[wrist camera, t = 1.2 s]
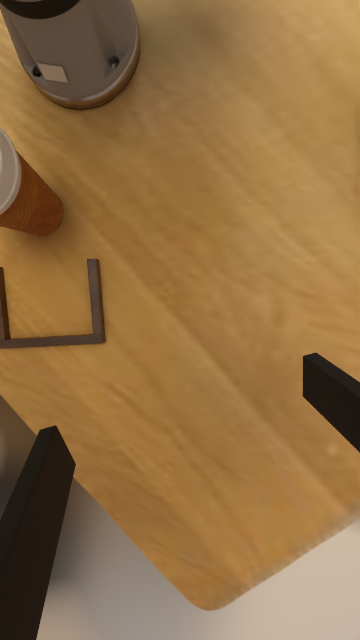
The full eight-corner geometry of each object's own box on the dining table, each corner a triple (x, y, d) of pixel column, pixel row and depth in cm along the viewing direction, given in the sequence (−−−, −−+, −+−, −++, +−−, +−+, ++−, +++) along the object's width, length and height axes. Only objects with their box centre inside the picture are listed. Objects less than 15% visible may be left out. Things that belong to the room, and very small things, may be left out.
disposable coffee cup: (57, 259, 34) (-19, 235, 22) (-4, 228, 34) (-111, 187, 22) (86, 194, 33) (25, 132, 21) (24, 163, 33) (-72, 84, 21)
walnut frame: (-6, 267, 34) (-12, 266, 33) (98, 260, 34) (95, 258, 33) (2, 347, 35) (-3, 348, 34) (105, 342, 34) (102, 343, 33)
